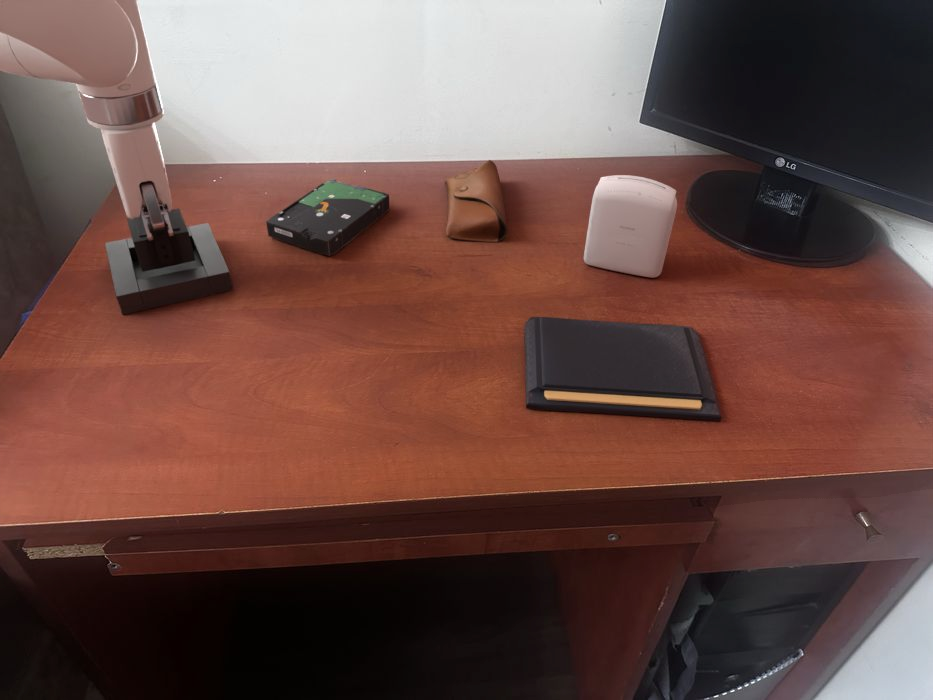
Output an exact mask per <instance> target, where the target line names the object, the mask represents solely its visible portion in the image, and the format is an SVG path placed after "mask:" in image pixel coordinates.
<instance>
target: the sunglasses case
mask: <svg viewBox="0 0 933 700" xmlns="http://www.w3.org/2000/svg"><path fill="white" fill-rule="evenodd" d="M444 182H445V187H446V192H447V220H446V221H447V222H446V230H445V236H446V237H448V238H450V239H452V240H453V239H454V240H458V241H459V240H460V241H465V242H478V243H479V242H480V243H498V242H500V241H503V239H504V238H505V237H506V236H507V234H508V226H507V217H506V210H505V209H506V208H505V204H504V196H503V190H502V184H501V179H500V174H499V171H498V167H497V165H496V162H494V161H493V160H491V159H488V160H487V161H485V163H483V164H482V165H480V166H477V167H475V168H473V169H470V170H468V171H464V172H462V173H459V174H457V175H455V176H452V177H450V178H446V179H445V180H444Z"/></svg>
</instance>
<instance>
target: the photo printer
mask: <svg viewBox="0 0 933 700" xmlns="http://www.w3.org/2000/svg"><path fill="white" fill-rule="evenodd" d="M676 195H677V190H676V189H675V188H673V187H671V186H670V185H668V184H665V183H664V182H660V181H657V180H655V179H652V178H647V177H643V176H637V175H629V174H627V175H626V174H615V175H606V176H602V177H600V178H599V181H598V183H597V185H596V186H595V189H594V192H593V195H592V200H591V206H590V212H589V218H588V225H587V230H586V231H587V232H586V238H585V244H584V250H583V251H584V252H583V261H584V263H585V264H586V265H589V266H592V267H596V268H600V269H604V270H610V271H614V272H619V273H624V274H628V275H634V276H637V277H645V278H653V279H654V278H657V277H659V276H660V275H661V274H662V272H663V267H664V263H665V259H666V255H667V252H668V246H669V243H670V238H671V235H672V229H673V225H674V221H675V218H676V212H677V210H678V209H677V208H678V200H677V196H676Z"/></svg>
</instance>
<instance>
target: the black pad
mask: <svg viewBox="0 0 933 700" xmlns="http://www.w3.org/2000/svg"><path fill="white" fill-rule="evenodd" d="M168 216H169V219H170V223H171V227H172V230H173V232H175V234H176V237H177V241H178V245H179V249H180V253H181V257H182V260H183V262H182V263H187V262H191V261H195V256H194V252H193V248H192V244H191V240H190V236H189V232H188V229H187V227H188V226H187V224H186V221H185V220H184V217H183V214H182V211H181V209H180V208H172V210H171V211H170V212H168ZM162 218H163V221H164V222H165V220H164V217H163V215H162ZM147 219H148V223H149V226H150V224H152V223H151V220H150V218H147ZM126 221H127V225H128V228H129V233H130V235H131V238H132V240H133V243H134V246H135V250H136V253H137V256H138V259H139V263H140V266H141V269H142V272H144V271H149V270H153V269H156V268H154V266H153V262H152V259H151V255H150V252H149V249H148V245H147V242H146V238H145V237H147V233H146V230H145V227H144V223H143V220H142V217H141V215H140V217H135V218H134V219H130V218H129V217H127V218H126ZM182 263H181V264H182Z"/></svg>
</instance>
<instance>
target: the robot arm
mask: <svg viewBox="0 0 933 700" xmlns="http://www.w3.org/2000/svg"><path fill="white" fill-rule="evenodd" d="M151 57H152V56H151V53H150V48H149V44H148V40H147V36H146V32H145V29H144V23H143V20H142V16H141V12H140V7H139V4H138V0H0V72H3V73H5V74H11V75H14V76H15V75H16V76H21V77H25V78H26V77H27V78H32V79H39V80H46V81H55V82H61V83H68V84H73V85H76V88H77V93H78V95H79V98H80V102H81V104H82V108H83V111H84V114H85V117H86V120H87V123H88V124H89V125H90V126H91V127H93V128H95V129H99V130H100V131H101V135H102V139H103V144H104V147H105V150H106V155H107V158H108V161H109V164H110V167H111V170H112V173H113V176H114V180H115V183H116V187H117V190H118V193H119V195H120V199H121V202H122V206H123V208H124V211H125V215H126V217H127V218H130V219H134V218H135V217H140V215H141V217H142V220H143V223H144V227H145V230H146V233H147V237H145V238H146V242H147V245H148V249H149V252H150V255H151V259H152V262H153V266H154V268H156V269H159V268H164V267H169V266H174V265H178V264H181V263H182V262H183V260H182V257H181V253H180V249H179V245H178V241H177V237H176V234H175V232H173V230H172V227H171V223H170V219H169V216H168V212H170V211H171V210H173V209H174V207H173V201H172V195H171V190H170V189H171V188H170V183H169V179H168V174H167V168H166V165H165V159H164V156H163V151H162V146H161V143H160V137H159V135H158V131H157V127H156V123H157V122H158V121H160V120H161V119H162V118H163V117H164V115H165V110H164V105H163V102H162V98H161V94H160V90H159V86H158V82H157V78H156V74H155V70H154V67H153V61H152V58H151ZM162 215H163V217H164V220H165V222H164V221H163V218H162ZM147 218H150V220H151V223H152V224H150V226H149V223H148V219H147Z"/></svg>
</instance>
